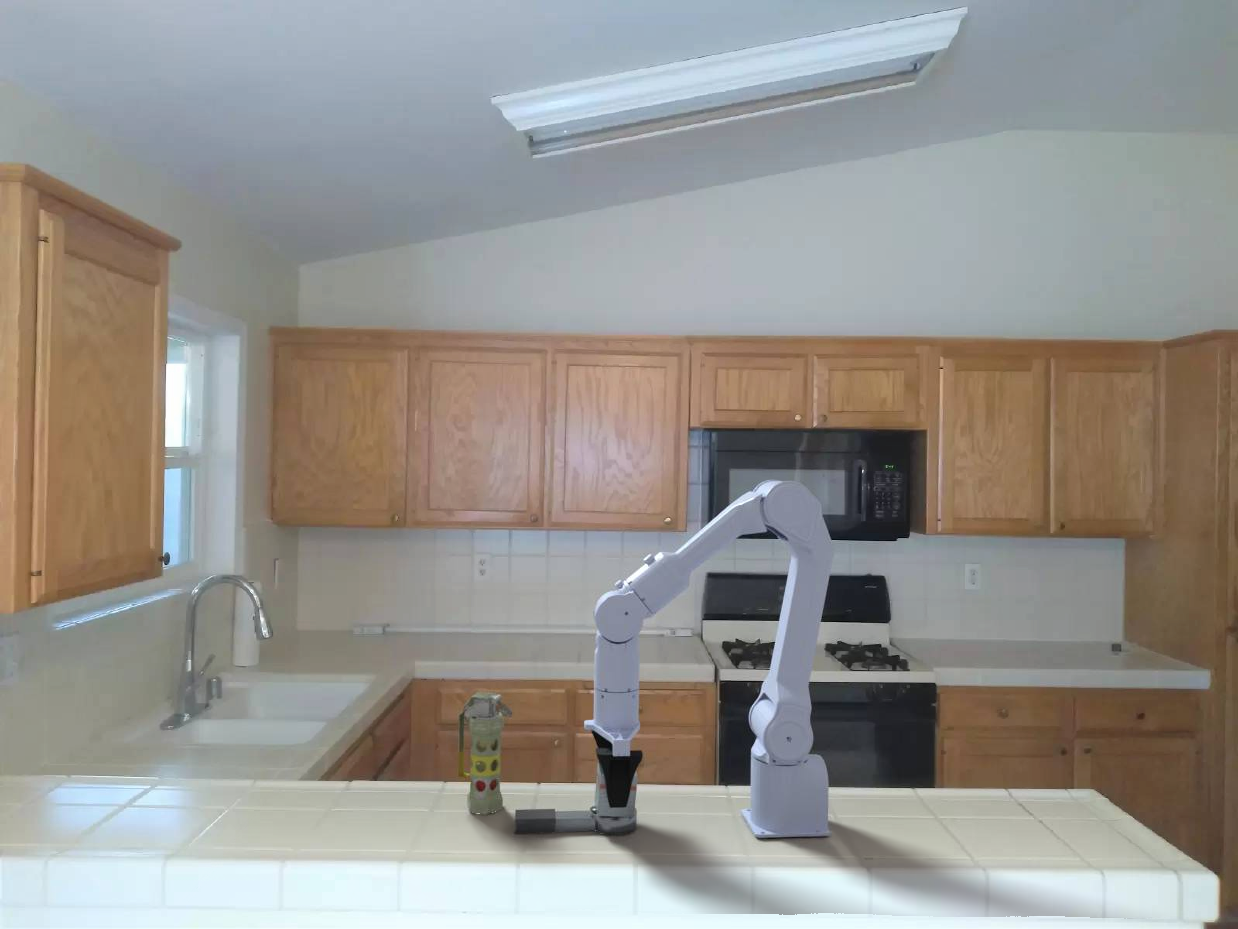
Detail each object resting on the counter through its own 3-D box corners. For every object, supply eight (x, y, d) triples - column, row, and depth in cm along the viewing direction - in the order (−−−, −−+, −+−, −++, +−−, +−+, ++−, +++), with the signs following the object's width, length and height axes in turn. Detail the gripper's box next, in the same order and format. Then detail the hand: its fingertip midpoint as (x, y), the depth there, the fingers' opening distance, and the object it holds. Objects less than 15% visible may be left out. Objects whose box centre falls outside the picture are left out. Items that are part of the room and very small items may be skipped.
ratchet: (633, 816, 112) (634, 782, 112) (639, 835, 106) (639, 798, 106) (515, 819, 111) (516, 784, 111) (514, 838, 105) (515, 801, 105)
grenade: (498, 816, 111) (500, 700, 112) (449, 811, 113) (451, 697, 113) (513, 798, 118) (515, 688, 118) (467, 793, 119) (469, 685, 119)
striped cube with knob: (629, 803, 112) (634, 756, 112) (634, 817, 107) (638, 769, 107) (594, 801, 111) (598, 754, 111) (597, 815, 106) (601, 767, 106)
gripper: (581, 673, 116) (580, 774, 116) (588, 703, 101) (586, 818, 101) (633, 673, 117) (632, 773, 117) (648, 702, 102) (646, 817, 102)
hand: (614, 794), depth 109 cm, fingers open, 7 cm apart
